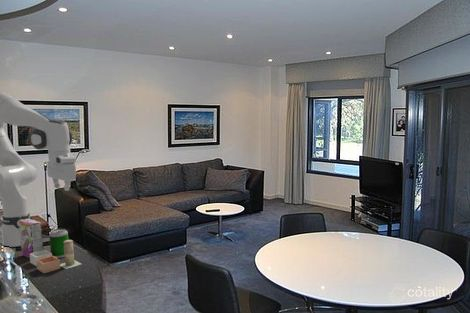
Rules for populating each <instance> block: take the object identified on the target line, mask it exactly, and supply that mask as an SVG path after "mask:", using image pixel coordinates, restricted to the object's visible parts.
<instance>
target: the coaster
mask: <svg viewBox="0 0 470 313" xmlns="http://www.w3.org/2000/svg"><path fill="white" fill-rule="evenodd" d="M74 262H75V264H74V265H71V266H66V265H65V262H62V263H60V268H63V269H65V270H67V269H70V268H71V269H72V268H74V267H77V266H80V265H82V263H81V262H79V261H77V260H75V259H74Z"/></svg>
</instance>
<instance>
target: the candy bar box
mask: <svg viewBox="0 0 470 313" xmlns="http://www.w3.org/2000/svg"><path fill="white" fill-rule="evenodd" d="M19 230H20V241H21V246H20V248H21V250H20V252H21V255H22V256H23V257H26V258H27V259H30V254H31V253H34V252H38V251H42V250H44V243H43V231H42V221H38V220H35V219H31V218H30V219H24V220H20V221H19Z"/></svg>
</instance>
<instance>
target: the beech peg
mask: <svg viewBox="0 0 470 313" xmlns="http://www.w3.org/2000/svg"><path fill="white" fill-rule="evenodd" d="M64 254H65V257H64V263H65V265H66V266H71V265H74V264H75V262H74V260H75V252H74V240H72V239H68V240H66V241H64Z"/></svg>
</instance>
